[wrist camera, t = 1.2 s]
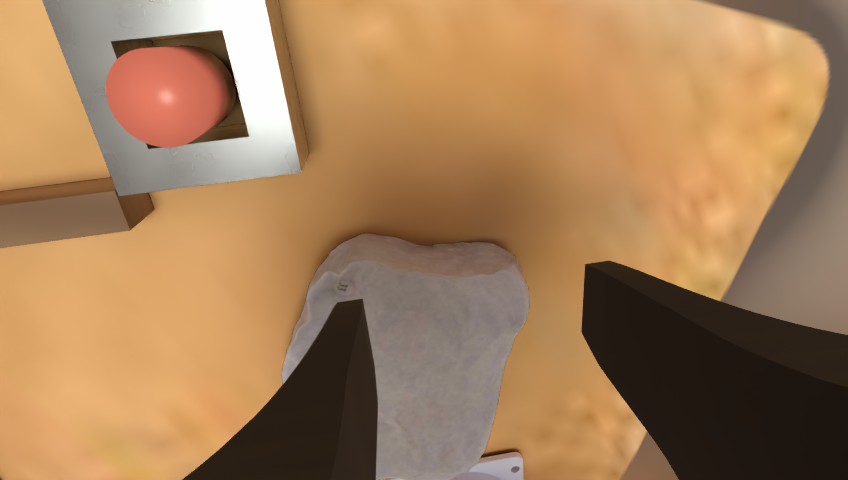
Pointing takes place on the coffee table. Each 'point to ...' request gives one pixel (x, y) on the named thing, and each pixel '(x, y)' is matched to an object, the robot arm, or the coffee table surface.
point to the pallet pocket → (68, 212)
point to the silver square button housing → (218, 147)
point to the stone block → (425, 343)
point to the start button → (169, 93)
